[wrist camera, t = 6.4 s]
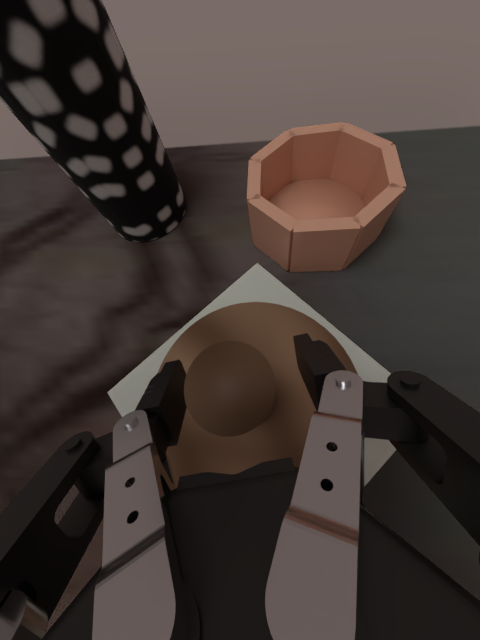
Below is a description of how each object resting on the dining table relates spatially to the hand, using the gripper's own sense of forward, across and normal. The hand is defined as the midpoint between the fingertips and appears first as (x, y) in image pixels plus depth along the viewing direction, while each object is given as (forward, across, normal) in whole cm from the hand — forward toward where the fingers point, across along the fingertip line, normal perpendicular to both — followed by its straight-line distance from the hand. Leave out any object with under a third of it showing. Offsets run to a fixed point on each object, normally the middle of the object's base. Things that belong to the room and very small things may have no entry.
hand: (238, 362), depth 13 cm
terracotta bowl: (+13, -8, -5) cm, 17 cm away
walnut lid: (+2, 0, +5) cm, 5 cm away
